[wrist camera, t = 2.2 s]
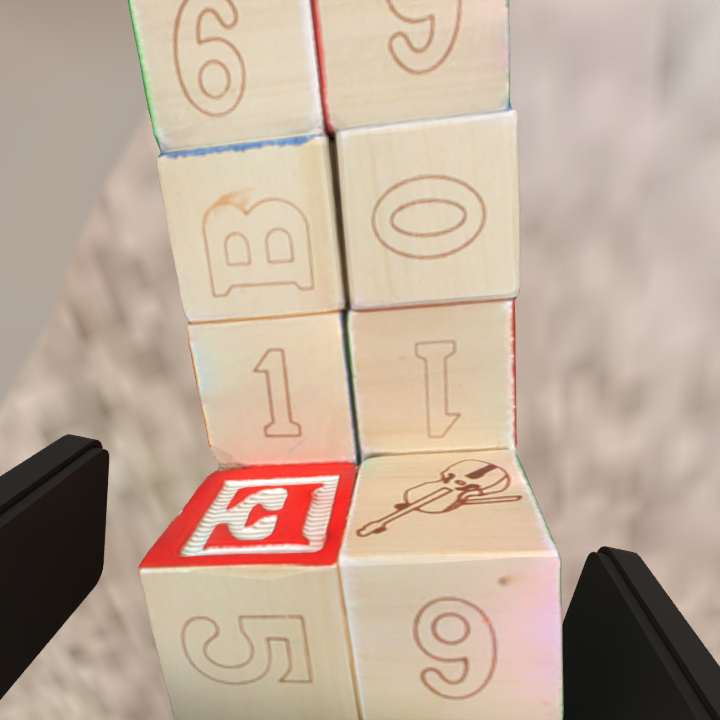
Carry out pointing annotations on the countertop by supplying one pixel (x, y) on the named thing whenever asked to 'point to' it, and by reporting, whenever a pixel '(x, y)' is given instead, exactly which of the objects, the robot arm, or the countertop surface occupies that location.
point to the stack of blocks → (348, 366)
